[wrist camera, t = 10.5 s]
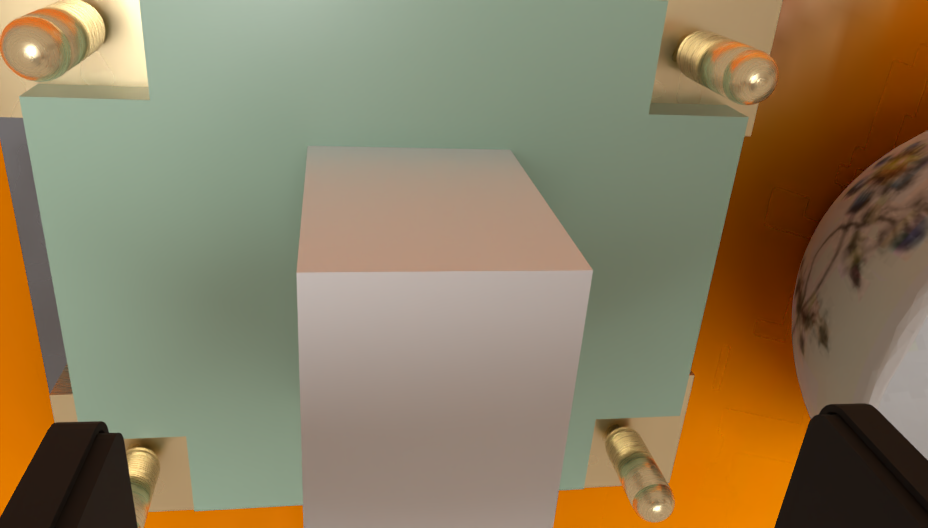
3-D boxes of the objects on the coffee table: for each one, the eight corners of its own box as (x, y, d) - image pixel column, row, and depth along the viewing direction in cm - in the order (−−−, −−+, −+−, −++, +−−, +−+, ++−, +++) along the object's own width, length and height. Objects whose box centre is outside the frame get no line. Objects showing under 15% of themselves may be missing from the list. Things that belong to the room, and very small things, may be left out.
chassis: (761, -99, 19) (971, -91, 13) (649, 427, 26) (750, 598, 20) (-39, -164, 16) (-273, -197, 10) (75, 451, 23) (-20, 662, 17)
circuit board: (749, -1, 16) (987, 63, 10) (649, 458, 21) (770, 674, 15) (16, -41, 14) (-216, 10, 8) (106, 486, 19) (5, 754, 13)
